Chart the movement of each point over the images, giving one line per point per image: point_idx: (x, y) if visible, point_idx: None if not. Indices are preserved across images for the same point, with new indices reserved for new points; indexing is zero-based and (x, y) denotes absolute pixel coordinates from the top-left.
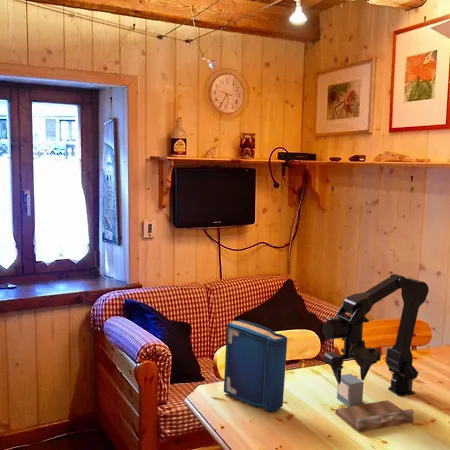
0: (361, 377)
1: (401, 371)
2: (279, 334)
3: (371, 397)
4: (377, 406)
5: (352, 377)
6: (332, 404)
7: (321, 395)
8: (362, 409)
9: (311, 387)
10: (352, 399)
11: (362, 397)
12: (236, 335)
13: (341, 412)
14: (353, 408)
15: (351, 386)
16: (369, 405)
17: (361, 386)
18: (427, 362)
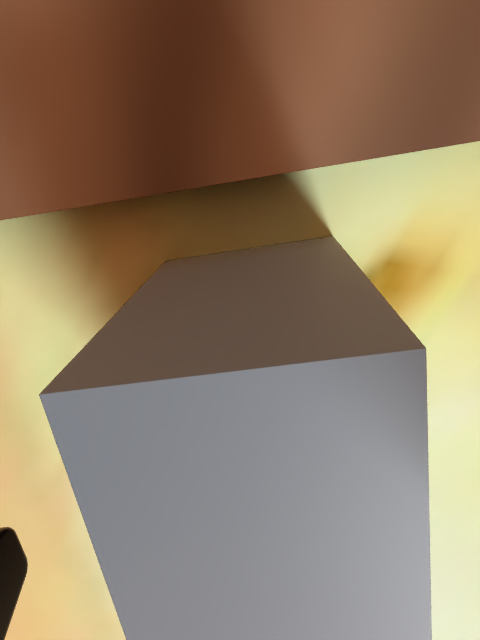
0: (7, 595)
1: None
2: None
3: (5, 400)
4: (14, 96)
5: (193, 615)
6: (469, 335)
7: (464, 510)
8: (256, 37)
9: (463, 636)
10: (301, 261)
11: (143, 287)
12: None
13: None
14: (367, 89)
15: (375, 325)
16: (110, 145)
17: (120, 347)
18: None
